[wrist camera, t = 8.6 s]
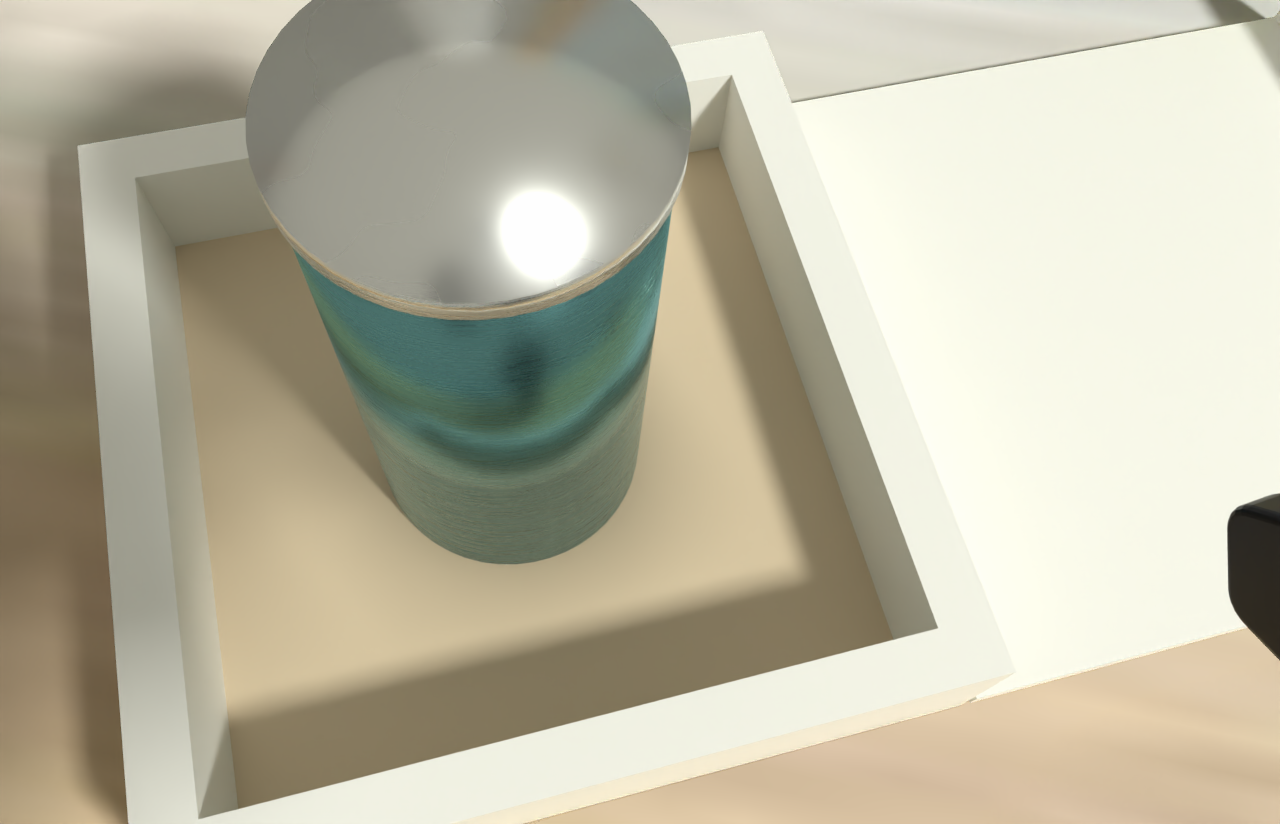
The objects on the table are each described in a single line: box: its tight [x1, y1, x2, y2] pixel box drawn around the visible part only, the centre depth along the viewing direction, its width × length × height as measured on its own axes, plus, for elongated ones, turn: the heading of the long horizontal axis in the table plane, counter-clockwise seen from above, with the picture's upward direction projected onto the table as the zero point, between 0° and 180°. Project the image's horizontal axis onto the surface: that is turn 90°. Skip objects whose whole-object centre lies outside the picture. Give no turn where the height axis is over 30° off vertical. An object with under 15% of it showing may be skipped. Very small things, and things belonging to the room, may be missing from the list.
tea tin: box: [246, 0, 692, 564], centre depth 18 cm, size 5×5×10 cm
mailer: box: [77, 11, 1280, 824], centre depth 23 cm, size 14×28×3 cm, turn 105°
